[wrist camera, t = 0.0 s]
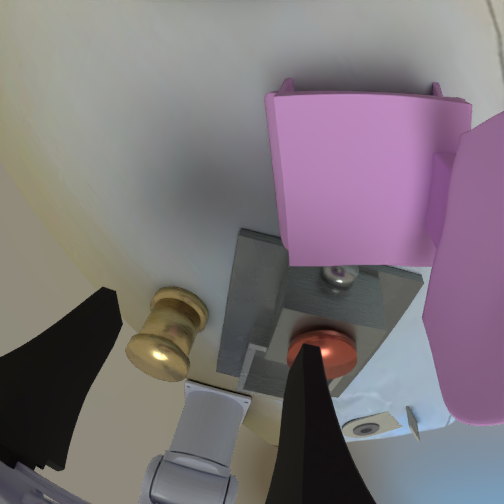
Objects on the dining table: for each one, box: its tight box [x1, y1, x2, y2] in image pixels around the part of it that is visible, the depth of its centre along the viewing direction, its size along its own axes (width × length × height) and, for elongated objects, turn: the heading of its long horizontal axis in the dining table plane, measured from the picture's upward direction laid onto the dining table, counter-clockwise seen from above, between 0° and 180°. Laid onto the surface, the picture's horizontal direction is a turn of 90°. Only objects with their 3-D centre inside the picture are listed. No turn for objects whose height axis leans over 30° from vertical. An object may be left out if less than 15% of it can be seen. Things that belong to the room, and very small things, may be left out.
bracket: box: [342, 406, 420, 441], centre depth 33 cm, size 7×10×4 cm, turn 126°
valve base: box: [216, 229, 424, 401], centre depth 23 cm, size 18×13×7 cm
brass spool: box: [125, 286, 208, 382], centre depth 24 cm, size 5×5×6 cm
